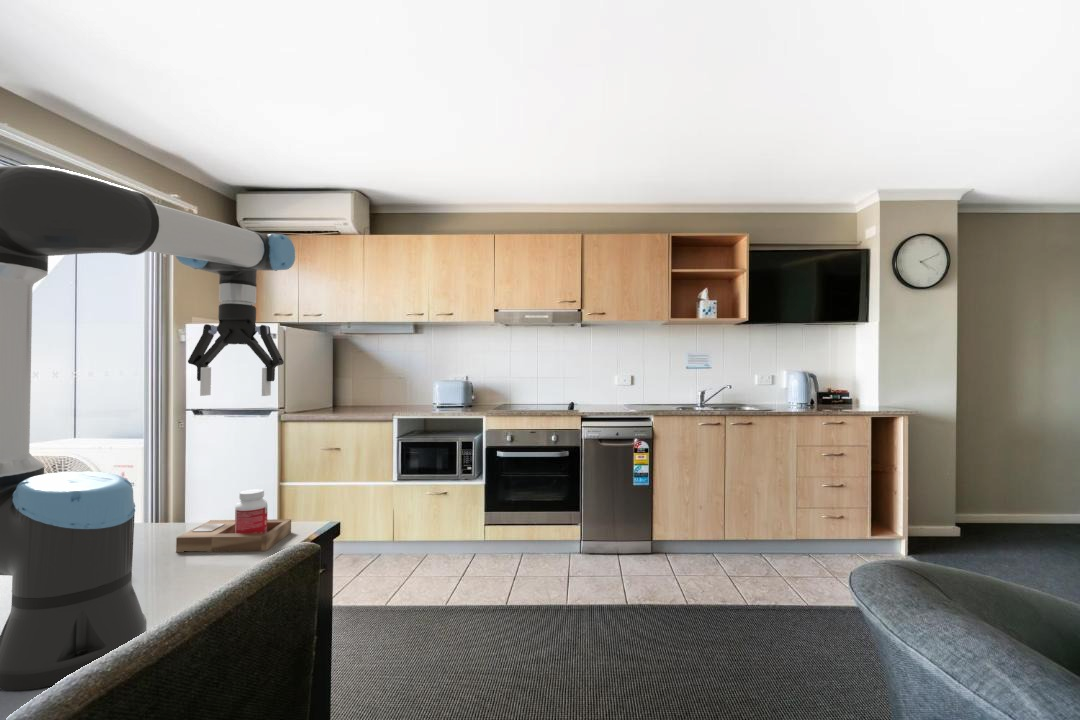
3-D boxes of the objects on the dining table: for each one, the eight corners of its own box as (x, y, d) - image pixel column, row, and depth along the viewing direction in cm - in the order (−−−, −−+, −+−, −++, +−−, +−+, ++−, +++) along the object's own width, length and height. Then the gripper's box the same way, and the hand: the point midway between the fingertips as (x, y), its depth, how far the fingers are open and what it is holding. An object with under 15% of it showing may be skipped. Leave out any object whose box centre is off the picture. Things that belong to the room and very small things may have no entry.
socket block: (266, 550, 104) (266, 535, 104) (176, 552, 103) (176, 536, 103) (291, 532, 116) (291, 518, 116) (210, 533, 115) (210, 519, 115)
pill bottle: (270, 541, 110) (271, 491, 110) (239, 548, 105) (240, 496, 106) (261, 535, 114) (262, 486, 114) (231, 541, 110) (232, 491, 110)
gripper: (299, 307, 121) (297, 394, 121) (192, 305, 119) (190, 394, 119) (285, 303, 114) (284, 396, 113) (171, 301, 112) (168, 396, 111)
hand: (235, 395), depth 116 cm, fingers open, 13 cm apart
